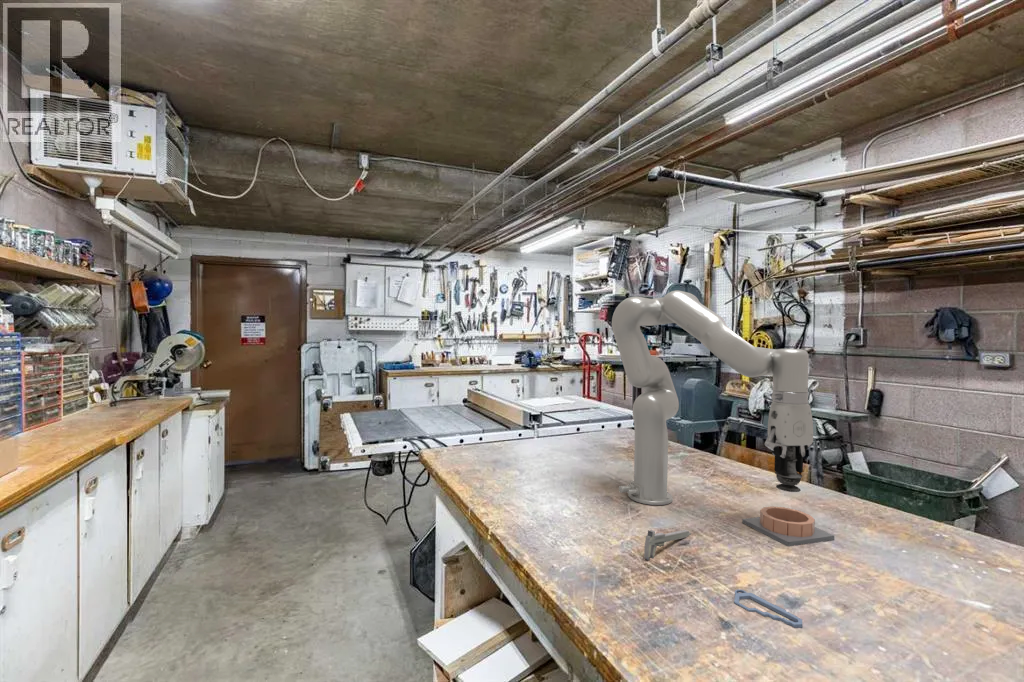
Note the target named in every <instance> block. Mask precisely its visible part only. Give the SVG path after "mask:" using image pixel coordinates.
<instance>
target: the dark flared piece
mask: <svg viewBox="0 0 1024 682" xmlns="http://www.w3.org/2000/svg"><path fill="white" fill-rule="evenodd" d="M785 458H787V474H782V473H779V472H776V471H775V472H774V474H775V475H776V479H777V481H778V482H779V484H777V485H775V488H776V489H778V490H780V491H784V492H789V493H790V492H791V493H798V492H801V488H800V487H798V486H797V485H799V484H800V483H801V480H802V478H803V475H802V473H799V472H796V461H797V459H795V446H787V450H786V455H785Z"/></svg>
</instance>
